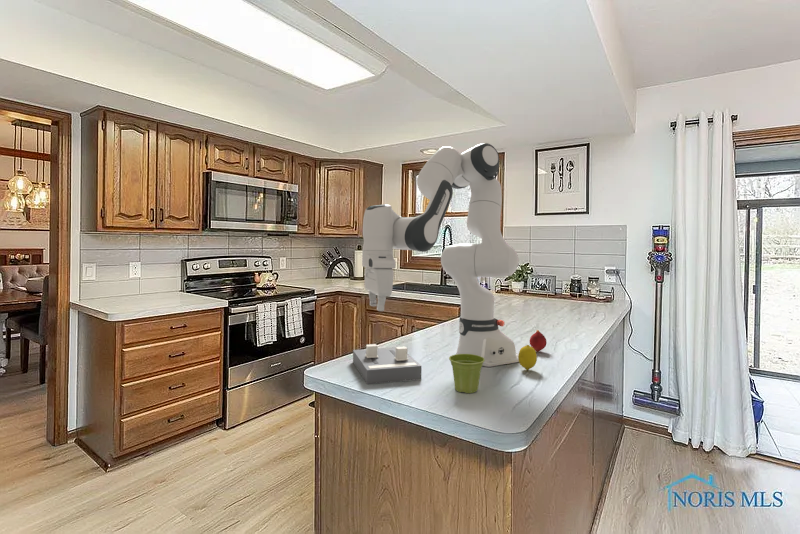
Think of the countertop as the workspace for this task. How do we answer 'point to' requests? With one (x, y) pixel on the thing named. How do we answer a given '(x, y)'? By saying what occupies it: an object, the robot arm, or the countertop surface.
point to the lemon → (527, 357)
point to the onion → (538, 341)
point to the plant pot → (466, 371)
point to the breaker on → (401, 354)
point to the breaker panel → (386, 367)
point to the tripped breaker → (371, 351)
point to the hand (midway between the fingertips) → (376, 308)
